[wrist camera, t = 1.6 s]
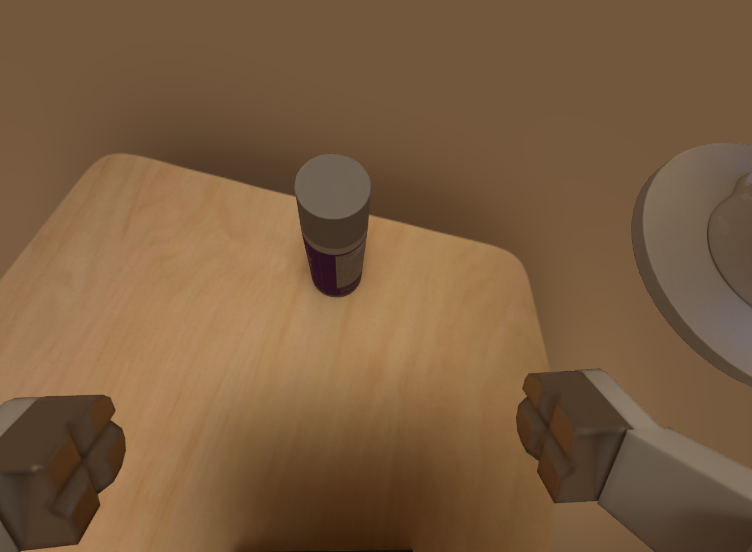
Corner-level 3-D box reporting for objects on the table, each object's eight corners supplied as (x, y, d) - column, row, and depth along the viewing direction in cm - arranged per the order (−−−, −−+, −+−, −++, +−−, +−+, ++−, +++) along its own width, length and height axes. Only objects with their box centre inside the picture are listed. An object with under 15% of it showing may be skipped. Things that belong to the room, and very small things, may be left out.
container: (301, 269, 36) (275, 177, 22) (341, 242, 38) (341, 139, 23) (331, 307, 35) (324, 236, 21) (371, 278, 37) (389, 193, 22)
